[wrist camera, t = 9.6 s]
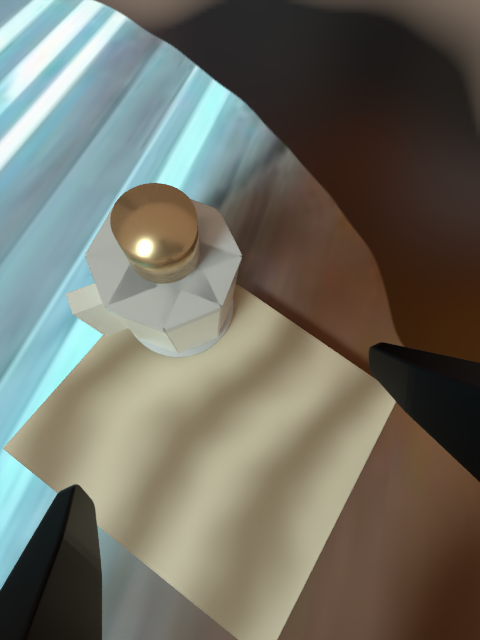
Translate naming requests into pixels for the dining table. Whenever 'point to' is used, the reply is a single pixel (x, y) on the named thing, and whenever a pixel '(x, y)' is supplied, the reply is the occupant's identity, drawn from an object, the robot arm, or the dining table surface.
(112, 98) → the dining table surface
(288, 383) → the birch board
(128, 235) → the plunger
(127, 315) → the white faceted container
